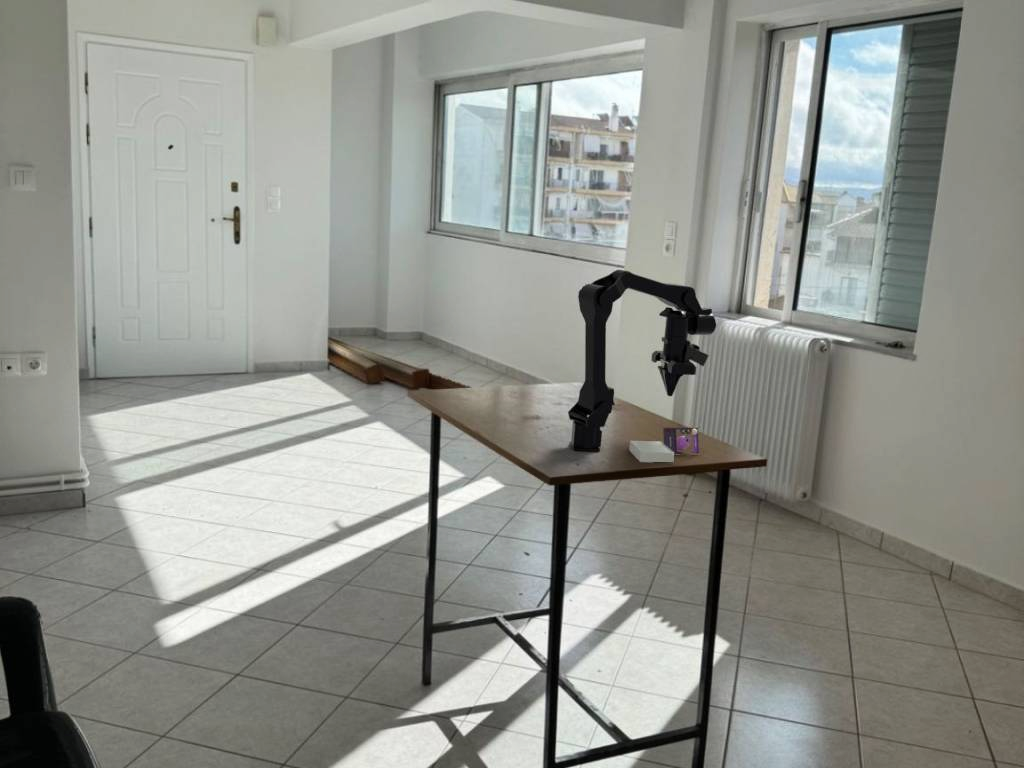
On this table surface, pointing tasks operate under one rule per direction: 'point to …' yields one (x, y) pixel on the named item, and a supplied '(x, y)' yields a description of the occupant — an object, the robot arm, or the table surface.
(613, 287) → the robot arm
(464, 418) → the table surface
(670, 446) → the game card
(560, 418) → the table surface
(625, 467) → the table surface
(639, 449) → the slab
